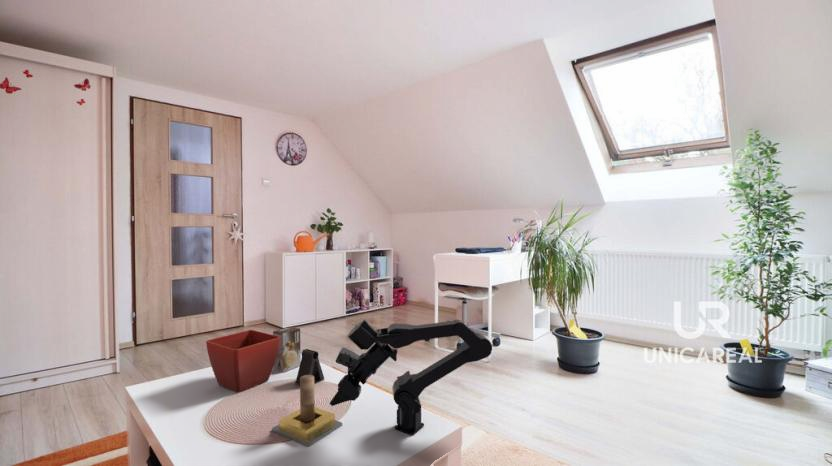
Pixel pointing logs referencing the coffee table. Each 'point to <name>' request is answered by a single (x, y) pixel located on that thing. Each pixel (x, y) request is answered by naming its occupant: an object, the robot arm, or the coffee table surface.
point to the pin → (307, 399)
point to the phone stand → (310, 366)
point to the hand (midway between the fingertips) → (334, 397)
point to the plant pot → (243, 358)
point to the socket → (307, 427)
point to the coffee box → (288, 349)
